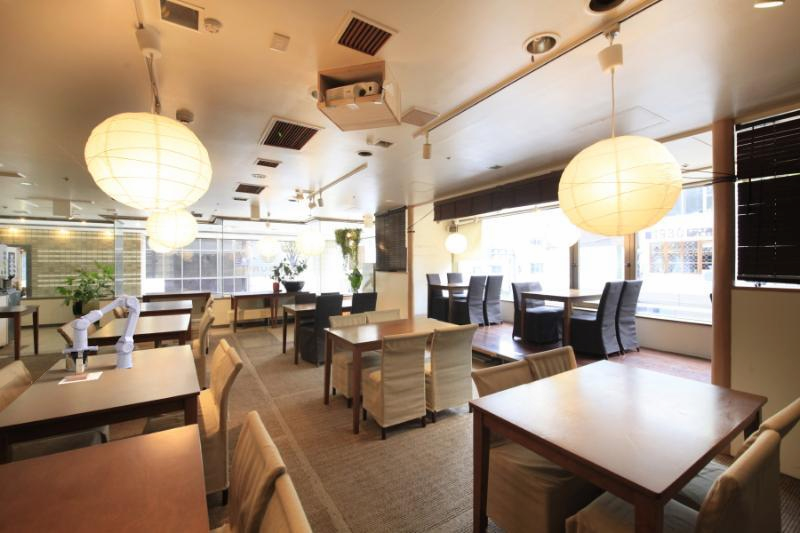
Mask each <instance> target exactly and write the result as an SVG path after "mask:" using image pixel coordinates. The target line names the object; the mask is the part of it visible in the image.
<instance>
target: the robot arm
mask: <svg viewBox="0 0 800 533" xmlns="http://www.w3.org/2000/svg"><path fill="white" fill-rule="evenodd" d="M119 307H120V308H121V307H125V308H126V309H127V310H128V312H129V313H128V315H127V317H126V322H125V324H124V329H123V331H122V335H121V337H119V338H118V341H117V342H116V343H115V345H114V350H115V351H116V367H115V368H114V370H120V369H130V368H133V366H134V362H133V360H132V359H133V356H132V353H133V350H134V348H135V347H134V339H133V338H134V337H133V336H134V334H135V330H136V327H137V323H138V320H139V318H140V314H141V305H140V300H139V299H138V298H137V297H136V296H132V295H126V294H125V295H121V296H120V297H117V298H116V299H114V300H113V301H112V302H110V303H108V304H106V305H104V306H103V307H101V308H99V309H94V310H90V311H89V312H88V313H87V314H85V315H83V316H80V318H76V319H74V320H73V321H72V323H71V324H70V327H71V328H72V329H73V330H72V332H73V333H72V340H73V342H72V343H73V348H70V349H66V348H63V349H62V350H61V354H66V353H70V352H71V353H70V355H71V357H72V358H73V360H74V362H75V365H76V359H77V358H78V352H80V351H84V352H83V364H85V363H86V359H87V356H88V357H89V355H90V352H91V351H98V349H99V345H96V346H94V345H93V346H92V345H91V346H90V345H88V347H87V343H88V328H89V326H90V325H92V324H93V323H96V322H97V321H98V320H100V319H102V318H103V316H104V315H105V314H107V313H108V312H111V311H112V310H114V309H117V308H119Z"/></svg>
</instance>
